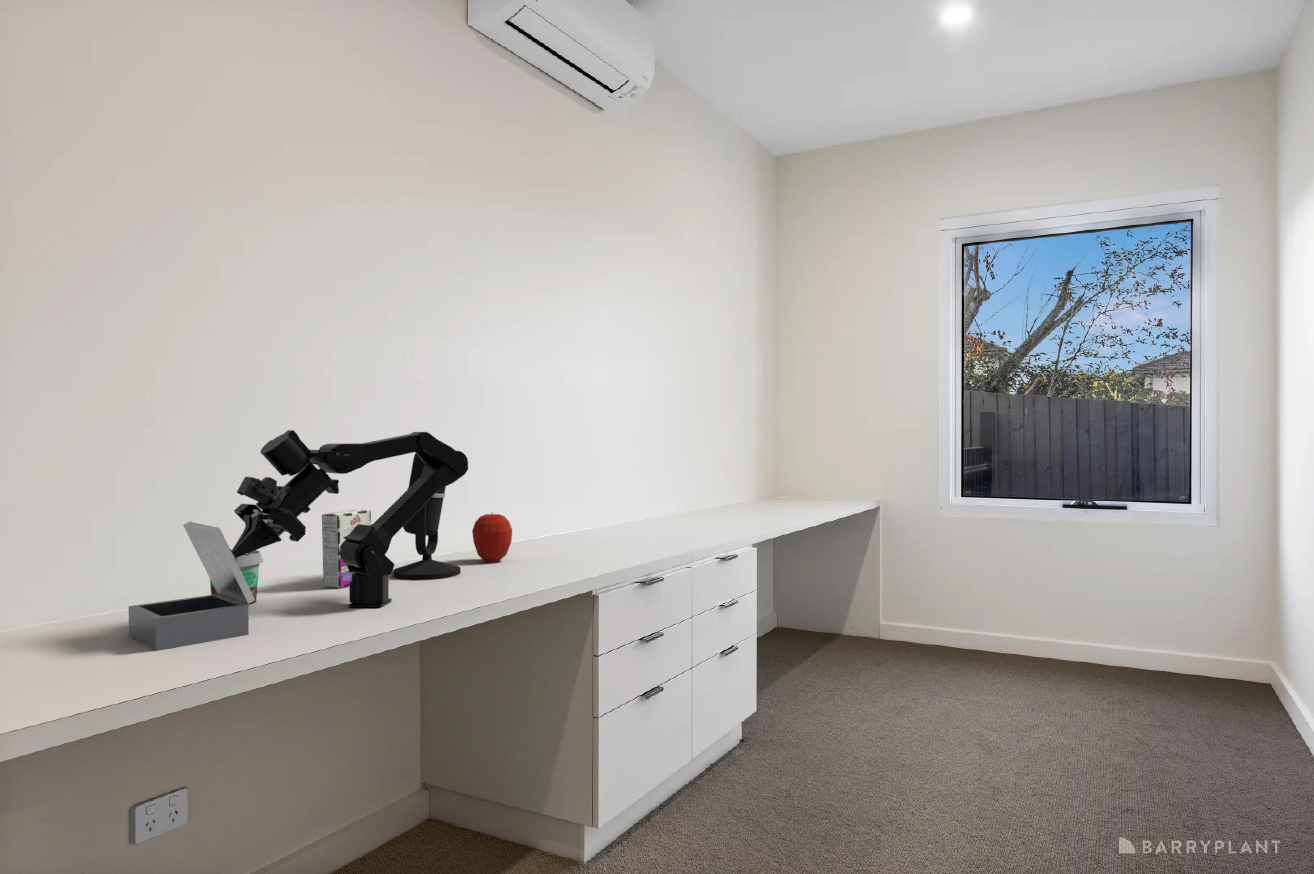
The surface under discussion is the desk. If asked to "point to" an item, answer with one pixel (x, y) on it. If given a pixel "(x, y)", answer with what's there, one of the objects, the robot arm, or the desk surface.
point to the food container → (247, 572)
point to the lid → (219, 561)
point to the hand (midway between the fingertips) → (232, 555)
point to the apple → (492, 537)
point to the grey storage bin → (187, 621)
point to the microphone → (424, 526)
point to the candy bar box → (339, 544)
